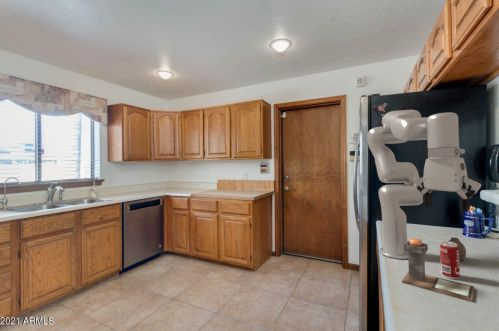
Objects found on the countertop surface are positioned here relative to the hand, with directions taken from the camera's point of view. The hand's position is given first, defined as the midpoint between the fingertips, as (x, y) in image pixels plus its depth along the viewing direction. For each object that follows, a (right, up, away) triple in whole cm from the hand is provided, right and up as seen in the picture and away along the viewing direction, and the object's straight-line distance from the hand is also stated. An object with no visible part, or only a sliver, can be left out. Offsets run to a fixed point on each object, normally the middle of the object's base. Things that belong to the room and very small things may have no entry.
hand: (444, 209), depth 74 cm
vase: (+27, -26, +27) cm, 46 cm away
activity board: (+3, -27, +7) cm, 28 cm away
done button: (-2, -15, +11) cm, 18 cm away
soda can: (+12, -27, +13) cm, 32 cm away
